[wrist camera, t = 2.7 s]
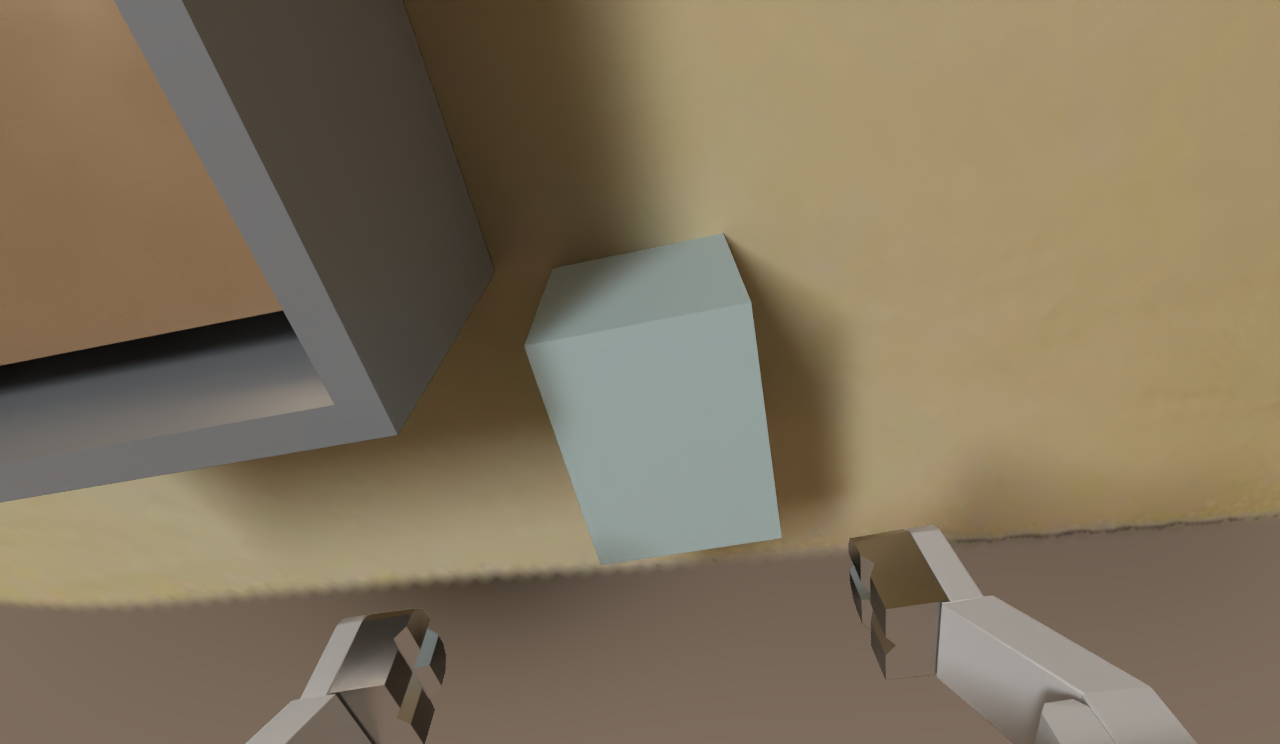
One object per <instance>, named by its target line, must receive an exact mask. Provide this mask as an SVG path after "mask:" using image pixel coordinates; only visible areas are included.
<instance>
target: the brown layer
mask: <svg viewBox="0 0 1280 744" xmlns="http://www.w3.org/2000/svg"><path fill="white" fill-rule="evenodd" d="M277 311H282V308H281V306H280V304H279V302H278V300H277V299H276V297H275V295H274V293H273V291H272V289H271V288H270V286H269V284H268V282H267V280H266V278H265V277H264V275H263V273H262V271H261V269H260V267H259V266H258V264H257V262H256V260H255V258H254V256H253V255H252V253H251V251H250V249H249V247H248V245H247V244H246V242H245V240H244V238H243V236H242V234H241V233H240V231H239V229H238V227H237V225H236V223H235V222H234V220H233V218H232V216H231V214H230V212H229V211H228V209H227V207H226V205H225V203H224V201H223V199H222V198H221V196H220V194H219V192H218V190H217V188H216V187H215V185H214V183H213V181H212V179H211V177H210V176H209V174H208V172H207V170H206V168H205V166H204V165H203V163H202V161H201V159H200V157H199V155H198V154H197V152H196V150H195V148H194V146H193V144H192V143H191V141H190V139H189V137H188V135H187V133H186V132H185V130H184V128H183V126H182V124H181V122H180V121H179V119H178V117H177V115H176V113H175V111H174V110H173V108H172V106H171V104H170V102H169V100H168V99H167V97H166V95H165V93H164V91H163V89H162V88H161V86H160V84H159V82H158V80H157V78H156V77H155V75H154V73H153V71H152V69H151V67H150V66H149V64H148V62H147V60H146V58H145V56H144V55H143V53H142V51H141V49H140V47H139V45H138V44H137V42H136V40H135V38H134V36H133V34H132V33H131V31H130V29H129V27H128V25H127V23H126V22H125V20H124V18H123V16H122V14H121V12H120V11H119V9H118V7H117V5H116V3H115V1H114V0H0V366H1V365H6V364H11V363H16V362H21V361H26V360H31V359H37V358H42V357H47V356H52V355H57V354H62V353H67V352H72V351H77V350H83V349H88V348H93V347H98V346H103V345H108V344H113V343H118V342H124V341H129V340H134V339H139V338H144V337H149V336H154V335H159V334H165V333H170V332H175V331H180V330H185V329H190V328H195V327H200V326H205V325H211V324H216V323H221V322H226V321H231V320H236V319H241V318H246V317H252V316H257V315H262V314H267V313H272V312H277Z"/></svg>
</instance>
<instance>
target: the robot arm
mask: <svg viewBox="0 0 1280 744" xmlns="http://www.w3.org/2000/svg"><path fill="white" fill-rule="evenodd" d="M848 545H849V555H850V558H851V560H852V562H853V565H854V566H853V567H852V568H851V570H850V584H851V589H852V594H853V599H854V602H855V605H856V609H857V611H858V614H859V617H860V619H861V622H862V624H864V625H865V626H867V627H868V628H870V629H871V646H872V648H873V651H874V653H875V655H876V658H877V660H878V662H879V665H880V667H881V670H882V672H883V675H884V677H885V679H886V680H892V679H900V678H909V677H918V676H927V675H936V674H937V678H938V679H940V680H941V681H942V682H943V683H944V684H945V685H946V686H948V687H949V688H950V689H951V690H952V691H953V692H955V693H956V694H957V695H958V696H959V697H960V698H961V699H963V700H964V701H965V702H966V703H967V704H968V705H970V706H971V707H972V708H973V709H974V710H975V711H976V712H978V713H979V714H980V715H981V716H983V718H985V719H986V720H987V721H988V722H989V723H990V724H992V725H993V726H994V727H995V728H996V729H997V730H998V731H1000V732H1001V733H1002V734H1003V735H1004V736H1005V737H1007V738H1008V739H1009V740H1010V741H1011V742H1013V743H1014V744H1197V743H1196V741H1195V740H1194V739H1193V738H1192V737H1191V735H1190V734H1189V733H1188V732H1187V731H1186V729H1185V728H1184V727H1183V726H1182V724H1181V723H1180V722H1179V721H1178V719H1177V718H1176V717H1175V716H1174V715H1173V713H1172V712H1171V711H1170V710H1169V708H1168V707H1167V706H1166V705H1165V704H1164V703H1163V701H1162V700H1161V699H1160V697H1159V696H1158V695H1157V694H1156V693H1155V691H1154V690H1153V689H1152V688H1151V687H1150V686H1149V685H1147V684H1145V683H1143V682H1142V681H1140V680H1138V679H1136V678H1135V677H1133V676H1131V675H1130V674H1128V673H1126V672H1125V671H1123V670H1121V669H1119V668H1117V667H1116V666H1114V665H1112V664H1111V663H1109V662H1107V661H1106V660H1104V659H1102V658H1100V657H1099V656H1097V655H1095V654H1094V653H1092V652H1090V651H1088V650H1087V649H1085V648H1083V647H1081V646H1080V645H1078V644H1076V643H1074V642H1073V641H1071V640H1069V639H1068V638H1066V637H1064V636H1063V635H1061V634H1059V633H1057V632H1056V631H1054V630H1052V629H1051V628H1049V627H1047V626H1045V625H1043V624H1042V623H1040V622H1038V621H1037V620H1035V619H1033V618H1032V617H1030V616H1028V615H1026V614H1025V613H1023V612H1021V611H1020V610H1018V609H1016V608H1014V607H1013V606H1011V605H1009V604H1007V603H1006V602H1004V601H1002V600H1001V599H999V598H997V597H995V596H994V595H992V596H984V595H983V594H982V592H981V591H980V589H979V588H978V586H977V585H976V583H975V582H974V580H973V579H972V577H971V576H970V574H969V572H968V571H967V569H966V568H965V567H964V565H963V564H962V562H961V560H960V559H959V558H958V556H957V554H956V553H955V551H954V550H953V548H952V547H951V545H950V544H949V542H948V541H947V539H946V538H945V536H944V535H943V533H942V532H941V530H940V529H939V528H938V527H937V526H935V525H934V524H932V525H926V526H920V527H914V528H908V529H905V530H903V529H901V530H895V531H890V532H884V533H878V534H872V535H866V536H860V537H855V538H850V540H849V543H848ZM429 622H430V618H429V617H428V615H427V614H426V612H425V610H424V609H422V608H415V609H408V610H400V611H393V612H384V613H377V614H370V615H365V616H358V617H351V618H345V619H343V620H342V621H341V622H340V623H339V624H338V625H337V626H336V628H335V630H334V632H333V634H332V636H331V638H330V640H329V642H328V644H327V646H326V648H325V650H324V652H323V654H322V656H321V658H320V660H319V662H318V664H317V666H316V668H315V670H314V672H313V674H312V676H311V678H310V680H309V682H308V684H307V686H306V688H305V690H304V692H303V694H302V696H301V698H300V699H298V700H292V701H291V702H290V703H289V704H288V705H287V706H286V707H285V708H284V709H282V711H280V712H279V713H278V714H277V715H276V716H275V717H274V718H273V719H272V720H271V721H269V722H268V723H267V724H266V725H265V726H264V727H263V728H262V729H261V730H260V731H259V732H258V733H257V734H255V735H254V737H252V738H251V739H250V740H249V741H248V742H247V743H246V744H425V742H426V738H427V735H428V731H429V728H430V724H431V721H432V718H433V714H434V711H435V709H434V706H433V704H432V702H431V698H432V696H433V695H434V694H435V693H436V692H437V691H438V690H439V688H440V687H441V686H442V682H443V678H444V675H445V669H446V653H445V649H444V645H443V642H442V640H441V638H440V637H439V635H438V634H436V633H434V632H433V631H431V630H429V629H427V628H428V625H429Z"/></svg>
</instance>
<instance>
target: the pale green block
mask: <svg viewBox="0 0 1280 744" xmlns="http://www.w3.org/2000/svg"><path fill="white" fill-rule="evenodd" d="M524 347H525V350H526V353H527V356H528V359H529V362H530V365H531V367H532V370H533V373H534V376H535V379H536V382H537V385H538V387H539V390H540V393H541V396H542V399H543V402H544V405H545V407H546V410H547V413H548V416H549V419H550V422H551V425H552V427H553V430H554V433H555V436H556V439H557V442H558V445H559V447H560V450H561V453H562V456H563V459H564V462H565V465H566V467H567V470H568V473H569V476H570V479H571V482H572V485H573V487H574V490H575V493H576V496H577V499H578V502H579V505H580V507H581V510H582V513H583V516H584V519H585V522H586V525H587V527H588V530H589V533H590V536H591V539H592V542H593V545H594V547H595V550H596V553H597V556H598V559H599V562H600V565H606V564H613V563H620V562H626V561H633V560H640V559H646V558H653V557H660V556H666V555H673V554H679V553H686V552H693V551H699V550H706V549H713V548H719V547H726V546H732V545H739V544H746V543H752V542H759V541H766V540H772V539H779V538H782V537H781V529H780V521H779V513H778V506H777V498H776V490H775V482H774V475H773V467H772V459H771V451H770V444H769V436H768V428H767V420H766V413H765V405H764V397H763V389H762V382H761V374H760V366H759V359H758V351H757V343H756V335H755V328H754V320H753V312H752V304H751V300H750V298H749V296H748V293H747V291H746V288H745V286H744V283H743V281H742V278H741V276H740V273H739V271H738V268H737V266H736V263H735V261H734V259H733V256H732V254H731V251H730V249H729V246H728V244H727V241H726V239H725V236H724V234H723V233H721V234H717V235H712V236H707V237H702V238H697V239H692V240H687V241H683V242H678V243H673V244H668V245H663V246H658V247H654V248H649V249H644V250H639V251H634V252H629V253H624V254H620V255H615V256H610V257H605V258H600V259H595V260H590V261H586V262H581V263H576V264H571V265H566V266H561V267H556V268H552V271H551V274H550V276H549V279H548V282H547V284H546V287H545V290H544V293H543V295H542V298H541V301H540V304H539V306H538V309H537V312H536V315H535V317H534V320H533V323H532V326H531V328H530V331H529V334H528V337H527V339H526V342H525V345H524Z"/></svg>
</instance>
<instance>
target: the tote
mask: <svg viewBox="0 0 1280 744" xmlns="http://www.w3.org/2000/svg"><path fill="white" fill-rule="evenodd" d="M114 1H115V3H116V5H117V7H118V9H119V11H120V12H121V14H122V16H123V18H124V20H125V22H126V23H127V25H128V27H129V29H130V31H131V33H132V34H133V36H134V38H135V40H136V42H137V44H138V45H139V47H140V49H141V51H142V53H143V55H144V56H145V58H146V60H147V62H148V64H149V66H150V67H151V69H152V71H153V73H154V75H155V77H156V78H157V80H158V82H159V84H160V86H161V88H162V89H163V91H164V93H165V95H166V97H167V99H168V100H169V102H170V104H171V106H172V108H173V110H174V111H175V113H176V115H177V117H178V119H179V121H180V122H181V124H182V126H183V128H184V130H185V132H186V133H187V135H188V137H189V139H190V141H191V143H192V144H193V146H194V148H195V150H196V152H197V154H198V155H199V157H200V159H201V161H202V163H203V165H204V166H205V168H206V170H207V172H208V174H209V176H210V177H211V179H212V181H213V183H214V185H215V187H216V188H217V190H218V192H219V194H220V196H221V198H222V199H223V201H224V203H225V205H226V207H227V209H228V211H229V212H230V214H231V216H232V218H233V220H234V222H235V223H236V225H237V227H238V229H239V231H240V233H241V234H242V236H243V238H244V240H245V242H246V244H247V245H248V247H249V249H250V251H251V253H252V255H253V256H254V258H255V260H256V262H257V264H258V266H259V267H260V269H261V271H262V273H263V275H264V277H265V278H266V280H267V282H268V284H269V286H270V288H271V289H272V291H273V293H274V295H275V297H276V299H277V300H278V302H279V304H280V306H281V308H282V311H277V312H272V313H267V314H262V315H257V316H252V317H246V318H241V319H236V320H231V321H226V322H221V323H216V324H211V325H205V326H200V327H195V328H190V329H185V330H180V331H175V332H170V333H165V334H159V335H154V336H149V337H144V338H139V339H134V340H129V341H124V342H118V343H113V344H108V345H103V346H98V347H93V348H88V349H83V350H77V351H72V352H67V353H62V354H57V355H52V356H47V357H42V358H37V359H31V360H26V361H21V362H16V363H11V364H6V365H1V366H0V502H6V501H12V500H18V499H23V498H29V497H35V496H41V495H47V494H53V493H59V492H65V491H71V490H77V489H82V488H88V487H94V486H100V485H106V484H112V483H118V482H124V481H130V480H136V479H141V478H147V477H153V476H159V475H165V474H171V473H177V472H183V471H189V470H195V469H201V468H206V467H212V466H218V465H224V464H230V463H236V462H242V461H248V460H254V459H260V458H265V457H271V456H277V455H283V454H289V453H295V452H301V451H307V450H313V449H319V448H325V447H330V446H336V445H342V444H348V443H354V442H360V441H366V440H372V439H378V438H384V437H389V436H395V435H398V434H399V432H400V430H401V429H402V427H403V425H404V424H405V422H406V420H407V419H408V417H409V415H410V414H411V412H412V410H413V409H414V407H415V405H416V404H417V402H418V400H419V399H420V397H421V395H422V394H423V392H424V390H425V389H426V387H427V385H428V384H429V382H430V380H431V379H432V377H433V375H434V373H435V372H436V370H437V368H438V367H439V365H440V363H441V362H442V360H443V358H444V357H445V355H446V353H447V352H448V350H449V348H450V347H451V345H452V343H453V342H454V340H455V338H456V337H457V335H458V333H459V332H460V330H461V328H462V327H463V325H464V323H465V322H466V320H467V318H468V316H469V315H470V313H471V311H472V310H473V308H474V306H475V305H476V303H477V301H478V300H479V298H480V296H481V295H482V293H483V291H484V290H485V288H486V286H487V285H488V283H489V281H490V280H491V278H492V276H493V275H494V273H495V271H494V268H493V265H492V262H491V259H490V256H489V253H488V250H487V247H486V244H485V241H484V238H483V235H482V233H481V230H480V227H479V224H478V221H477V218H476V215H475V212H474V209H473V206H472V203H471V200H470V197H469V194H468V191H467V188H466V185H465V182H464V179H463V177H462V174H461V171H460V168H459V165H458V162H457V159H456V156H455V153H454V150H453V147H452V144H451V141H450V138H449V135H448V132H447V129H446V126H445V123H444V120H443V118H442V115H441V112H440V109H439V106H438V103H437V100H436V97H435V94H434V91H433V88H432V85H431V82H430V79H429V76H428V73H427V70H426V67H425V64H424V62H423V59H422V56H421V53H420V50H419V47H418V44H417V41H416V38H415V35H414V32H413V29H412V26H411V23H410V20H409V17H408V14H407V11H406V8H405V6H404V3H403V0H114Z"/></svg>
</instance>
